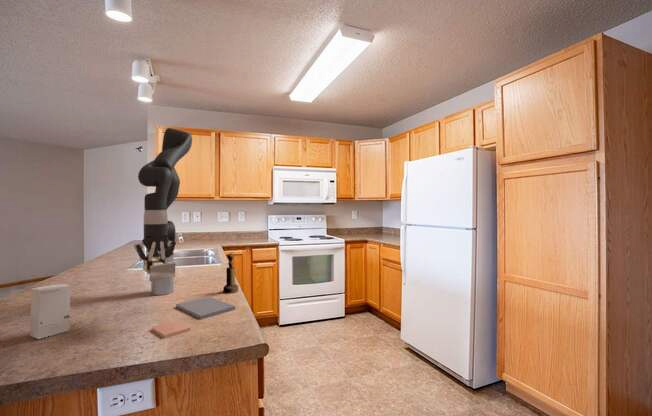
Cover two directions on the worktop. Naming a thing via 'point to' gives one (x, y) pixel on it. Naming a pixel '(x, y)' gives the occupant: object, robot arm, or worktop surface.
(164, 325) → the tile
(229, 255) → the dark brown tall piece
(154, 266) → the beige rectangular block
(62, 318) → the skincare box
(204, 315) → the board
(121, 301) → the worktop surface
